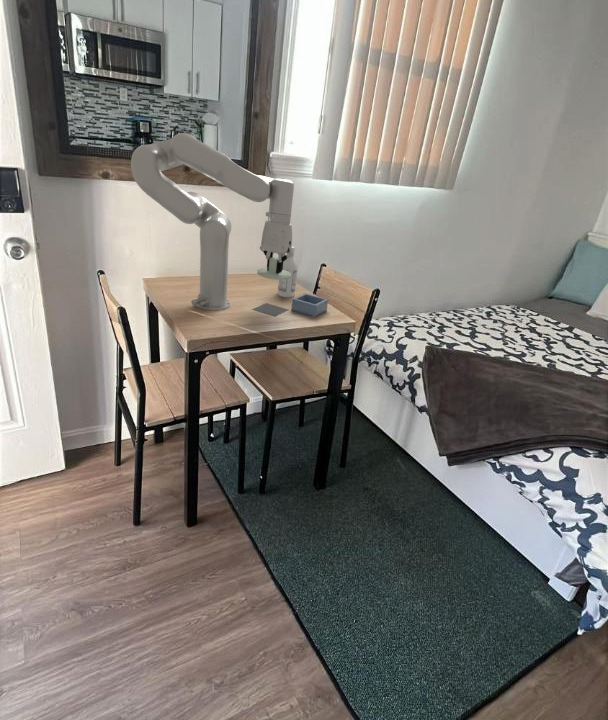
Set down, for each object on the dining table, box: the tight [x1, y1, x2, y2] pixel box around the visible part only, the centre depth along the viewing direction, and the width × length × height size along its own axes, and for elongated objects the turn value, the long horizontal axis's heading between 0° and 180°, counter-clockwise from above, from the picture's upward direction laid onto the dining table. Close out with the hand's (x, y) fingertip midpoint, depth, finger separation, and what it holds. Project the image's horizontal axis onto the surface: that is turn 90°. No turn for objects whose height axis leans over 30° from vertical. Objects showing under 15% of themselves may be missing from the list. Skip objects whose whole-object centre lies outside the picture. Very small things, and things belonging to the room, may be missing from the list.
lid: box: [256, 256, 291, 281], centre depth 160 cm, size 12×12×6 cm
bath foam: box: [277, 245, 298, 298], centre depth 181 cm, size 7×7×20 cm
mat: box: [251, 302, 290, 317], centre depth 167 cm, size 10×10×1 cm
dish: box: [291, 292, 329, 318], centre depth 170 cm, size 10×10×5 cm
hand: (274, 270), depth 160 cm, fingers closed on lid, 3 cm apart
